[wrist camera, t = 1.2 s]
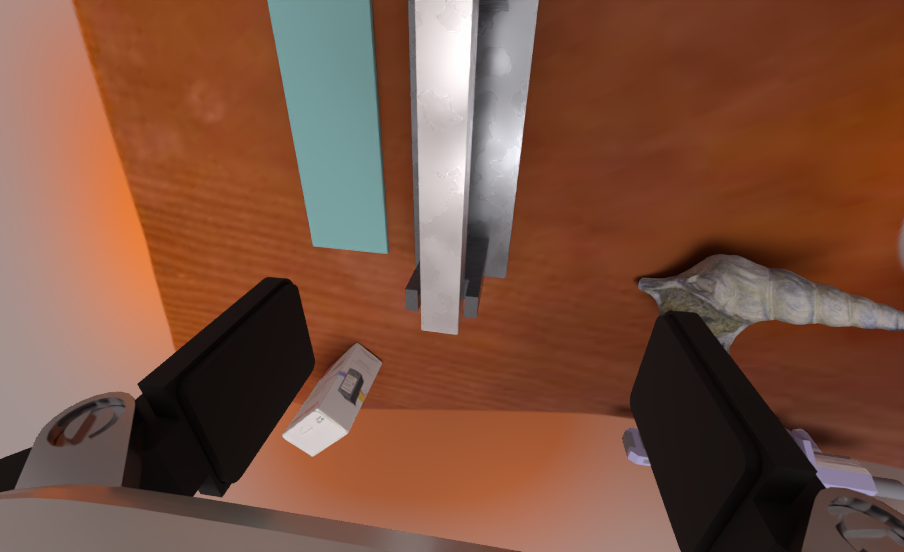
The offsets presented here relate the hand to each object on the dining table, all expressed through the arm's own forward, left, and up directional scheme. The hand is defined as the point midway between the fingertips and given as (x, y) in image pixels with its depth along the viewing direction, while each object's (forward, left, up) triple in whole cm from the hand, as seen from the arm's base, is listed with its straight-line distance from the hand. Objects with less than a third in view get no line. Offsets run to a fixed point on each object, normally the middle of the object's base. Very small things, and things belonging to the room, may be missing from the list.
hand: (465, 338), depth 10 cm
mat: (-2, -17, -28) cm, 33 cm away
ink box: (+32, -19, -29) cm, 47 cm away
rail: (0, -4, -18) cm, 19 cm away
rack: (0, -4, -28) cm, 29 cm away
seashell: (+13, +23, -29) cm, 39 cm away
